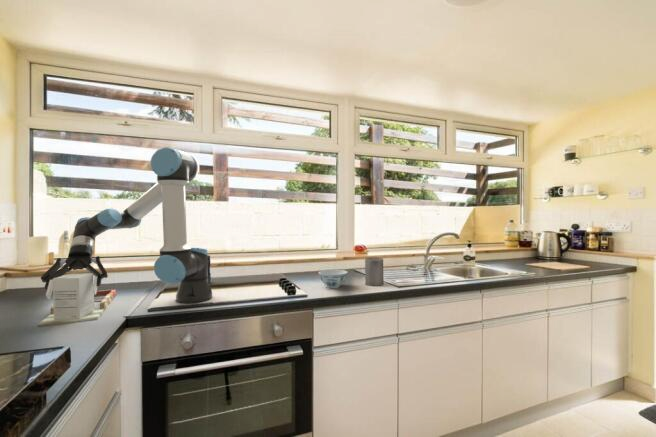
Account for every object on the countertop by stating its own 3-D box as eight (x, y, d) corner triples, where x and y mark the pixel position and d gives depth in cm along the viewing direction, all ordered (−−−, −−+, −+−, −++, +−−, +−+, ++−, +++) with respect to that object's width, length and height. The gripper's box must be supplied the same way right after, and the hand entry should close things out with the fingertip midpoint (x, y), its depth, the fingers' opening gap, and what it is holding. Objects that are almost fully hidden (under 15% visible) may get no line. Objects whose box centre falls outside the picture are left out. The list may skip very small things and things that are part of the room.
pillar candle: (370, 281, 181) (370, 254, 181) (386, 283, 175) (386, 255, 175) (361, 284, 173) (361, 256, 173) (378, 287, 168) (378, 258, 167)
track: (72, 298, 149) (72, 291, 149) (116, 294, 156) (116, 288, 156) (38, 326, 112) (38, 317, 112) (97, 319, 119) (97, 311, 119)
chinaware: (352, 285, 171) (352, 270, 171) (338, 291, 159) (338, 275, 159) (328, 282, 179) (328, 268, 179) (312, 287, 167) (312, 272, 167)
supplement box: (70, 312, 126) (69, 273, 125) (94, 311, 126) (94, 272, 126) (52, 319, 116) (51, 278, 116) (79, 318, 117) (78, 277, 117)
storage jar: (199, 286, 171) (198, 258, 171) (187, 284, 176) (187, 256, 176) (214, 282, 180) (214, 255, 179) (203, 281, 185) (202, 254, 185)
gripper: (118, 253, 140) (113, 296, 127) (45, 257, 130) (30, 304, 116) (116, 242, 135) (110, 285, 122) (39, 245, 125) (23, 293, 111)
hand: (71, 294), depth 119 cm, fingers open, 13 cm apart
